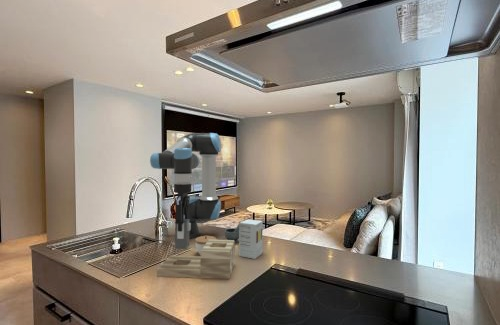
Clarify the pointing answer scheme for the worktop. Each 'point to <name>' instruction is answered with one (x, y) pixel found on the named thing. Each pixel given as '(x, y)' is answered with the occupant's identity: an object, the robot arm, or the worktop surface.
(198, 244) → the lidded jar
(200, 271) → the dock
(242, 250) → the supplement box
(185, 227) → the plug
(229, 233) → the mortar and pestle
